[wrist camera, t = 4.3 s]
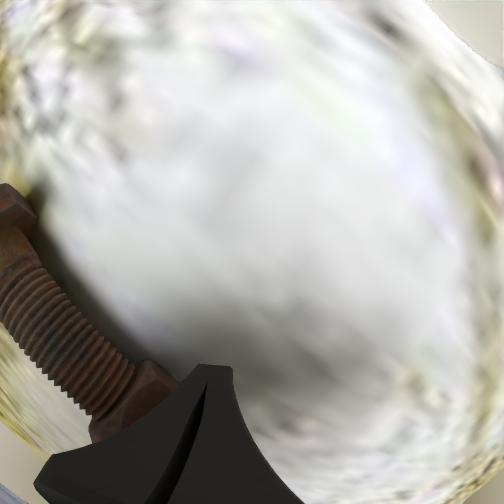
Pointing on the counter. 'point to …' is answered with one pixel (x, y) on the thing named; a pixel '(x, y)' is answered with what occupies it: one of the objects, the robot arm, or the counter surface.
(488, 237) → the counter surface
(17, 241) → the bolt
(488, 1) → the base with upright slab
